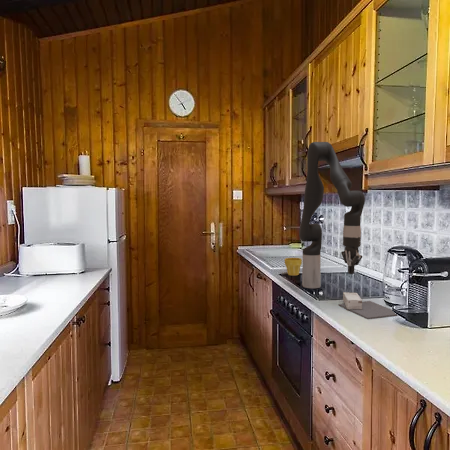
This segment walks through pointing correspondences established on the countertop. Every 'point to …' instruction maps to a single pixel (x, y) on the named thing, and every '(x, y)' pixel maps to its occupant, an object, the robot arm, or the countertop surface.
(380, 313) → the mat
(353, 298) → the skincare box
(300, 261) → the plant pot
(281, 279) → the countertop surface
